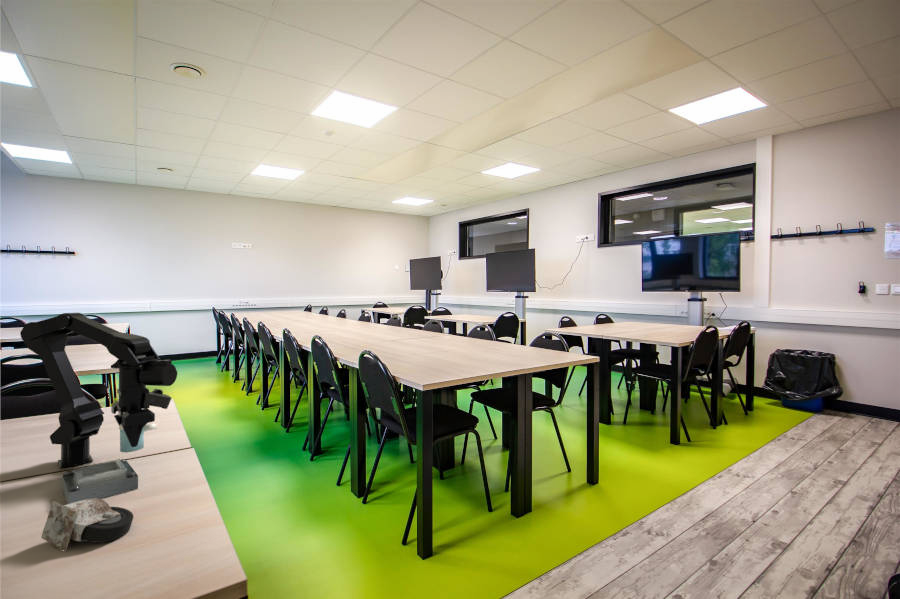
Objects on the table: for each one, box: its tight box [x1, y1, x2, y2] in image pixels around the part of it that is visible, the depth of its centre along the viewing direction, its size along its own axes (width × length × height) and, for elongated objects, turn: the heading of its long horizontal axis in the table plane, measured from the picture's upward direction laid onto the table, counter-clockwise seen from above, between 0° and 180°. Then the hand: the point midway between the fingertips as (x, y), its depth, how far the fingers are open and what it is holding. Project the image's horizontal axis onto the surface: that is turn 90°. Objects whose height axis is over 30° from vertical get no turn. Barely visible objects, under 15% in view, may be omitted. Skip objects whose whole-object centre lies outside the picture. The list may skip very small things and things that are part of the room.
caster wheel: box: [40, 498, 134, 552], centre depth 79 cm, size 7×11×10 cm
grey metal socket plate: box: [61, 458, 139, 505], centre depth 98 cm, size 13×12×4 cm
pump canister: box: [118, 422, 158, 453], centre depth 113 cm, size 5×8×7 cm
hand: (132, 444), depth 112 cm, fingers closed on pump canister, 5 cm apart
